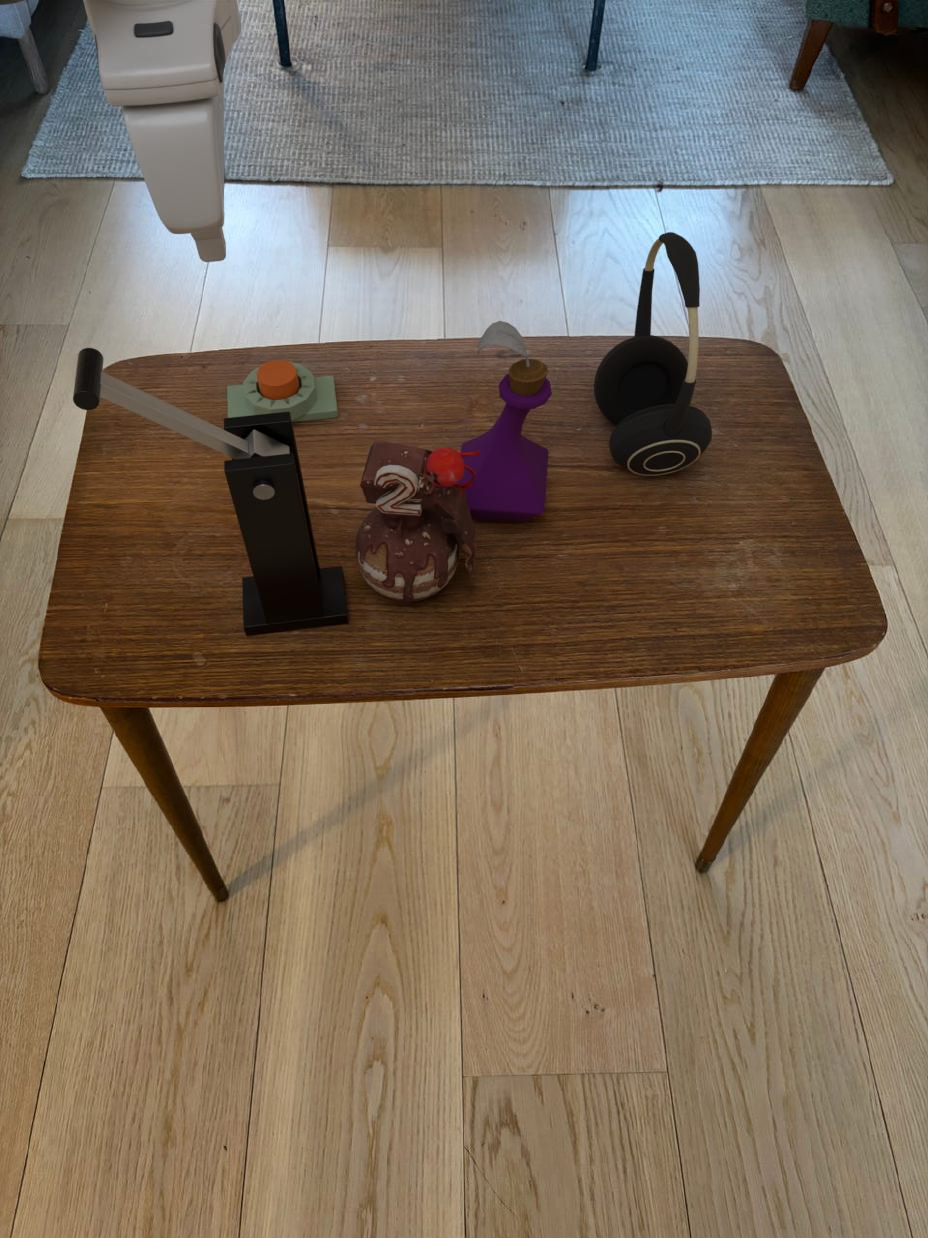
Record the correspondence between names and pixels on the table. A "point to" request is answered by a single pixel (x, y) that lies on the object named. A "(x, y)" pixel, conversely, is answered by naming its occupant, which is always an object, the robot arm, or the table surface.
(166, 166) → the robot arm
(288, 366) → the button
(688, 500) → the table surface
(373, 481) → the chocolate birthday cake
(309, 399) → the button box
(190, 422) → the lever
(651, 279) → the headphones
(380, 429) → the table surface
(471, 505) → the perfume bottle
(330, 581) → the bracket
